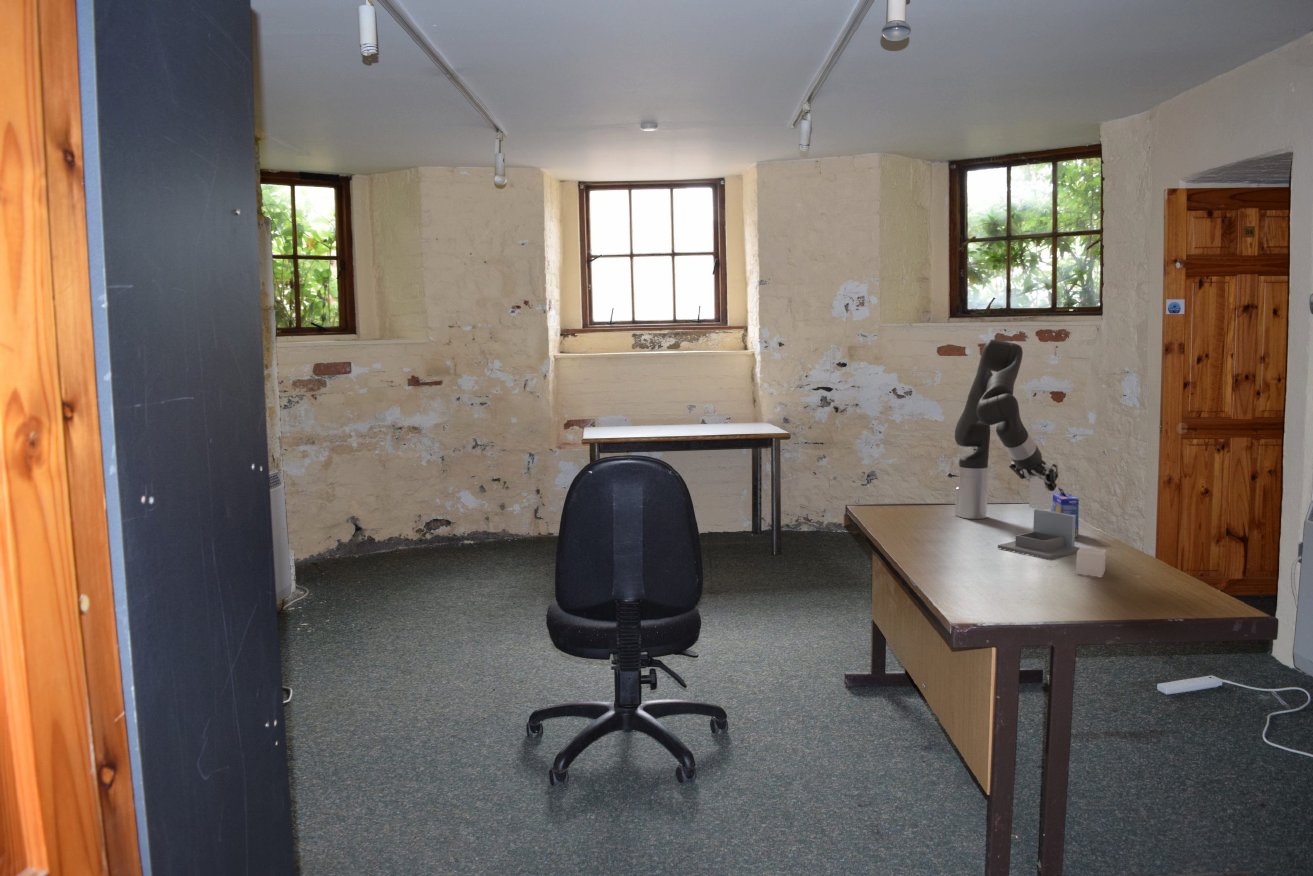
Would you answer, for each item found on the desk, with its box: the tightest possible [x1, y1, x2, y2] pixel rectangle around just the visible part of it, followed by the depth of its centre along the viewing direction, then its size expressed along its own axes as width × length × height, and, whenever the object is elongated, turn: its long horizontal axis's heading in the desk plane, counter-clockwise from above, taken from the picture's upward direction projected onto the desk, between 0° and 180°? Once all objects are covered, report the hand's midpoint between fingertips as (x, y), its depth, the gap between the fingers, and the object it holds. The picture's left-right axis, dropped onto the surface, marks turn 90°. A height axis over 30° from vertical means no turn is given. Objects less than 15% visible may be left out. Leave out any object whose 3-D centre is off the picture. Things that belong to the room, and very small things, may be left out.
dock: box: [997, 508, 1081, 560], centre depth 249 cm, size 16×16×10 cm
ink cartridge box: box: [1050, 487, 1080, 538], centre depth 268 cm, size 10×6×14 cm, turn 174°
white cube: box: [1075, 546, 1107, 578], centre depth 225 cm, size 6×6×6 cm
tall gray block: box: [1028, 474, 1054, 510], centre depth 248 cm, size 4×4×10 cm
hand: (1045, 487), depth 249 cm, fingers closed on tall gray block, 4 cm apart
